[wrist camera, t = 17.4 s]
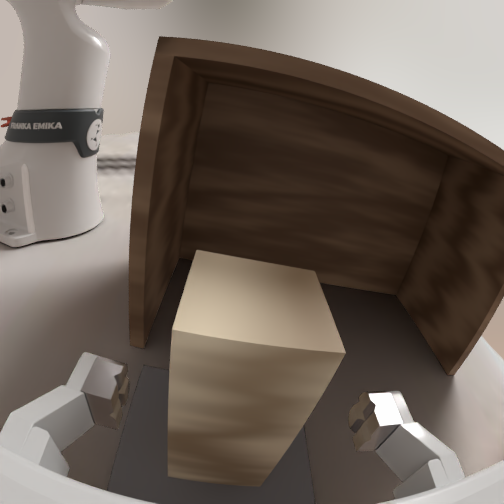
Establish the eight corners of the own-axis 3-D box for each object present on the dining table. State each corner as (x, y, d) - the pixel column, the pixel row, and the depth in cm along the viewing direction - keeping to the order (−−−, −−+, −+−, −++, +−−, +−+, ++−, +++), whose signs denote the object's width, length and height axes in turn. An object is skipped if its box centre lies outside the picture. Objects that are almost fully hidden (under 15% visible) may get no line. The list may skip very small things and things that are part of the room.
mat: (105, 511, 9) (103, 508, 9) (143, 370, 18) (143, 364, 18) (313, 532, 10) (318, 529, 10) (295, 393, 19) (297, 388, 19)
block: (167, 476, 11) (172, 329, 7) (178, 408, 15) (196, 249, 11) (259, 486, 12) (345, 352, 8) (257, 418, 16) (314, 270, 12)
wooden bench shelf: (454, 374, 22) (547, 183, 14) (130, 345, 19) (159, 36, 12) (398, 291, 36) (451, 148, 28) (172, 251, 33) (201, 72, 25)
